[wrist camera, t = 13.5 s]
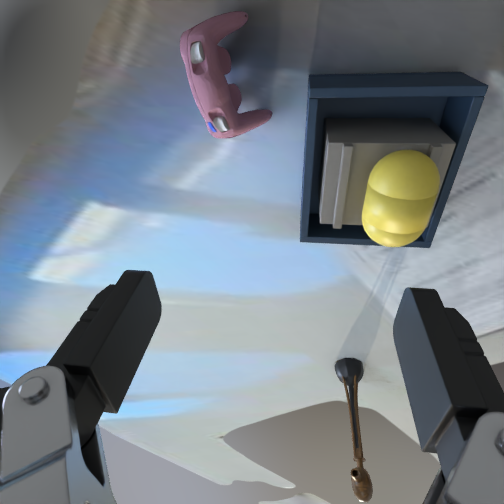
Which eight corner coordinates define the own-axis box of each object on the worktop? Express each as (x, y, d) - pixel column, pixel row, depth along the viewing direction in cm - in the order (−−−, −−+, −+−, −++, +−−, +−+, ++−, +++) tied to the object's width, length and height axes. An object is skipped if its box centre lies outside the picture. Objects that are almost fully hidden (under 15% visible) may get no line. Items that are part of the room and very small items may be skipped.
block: (324, 116, 34) (328, 146, 27) (428, 115, 32) (460, 147, 25) (317, 187, 38) (320, 228, 32) (407, 189, 37) (430, 232, 30)
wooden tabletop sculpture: (330, 356, 57) (339, 491, 42) (357, 352, 56) (376, 491, 40) (339, 375, 60) (350, 508, 45) (365, 372, 59) (386, 508, 43)
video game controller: (212, 18, 31) (159, 36, 27) (250, 3, 28) (198, 20, 24) (243, 123, 36) (204, 150, 32) (278, 118, 34) (239, 148, 30)
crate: (309, 74, 31) (309, 87, 27) (461, 71, 30) (489, 85, 25) (300, 215, 41) (299, 242, 36) (415, 219, 39) (430, 248, 35)
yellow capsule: (359, 146, 26) (407, 171, 22) (413, 136, 27) (467, 157, 23) (345, 233, 31) (382, 266, 27) (391, 220, 32) (432, 250, 28)
